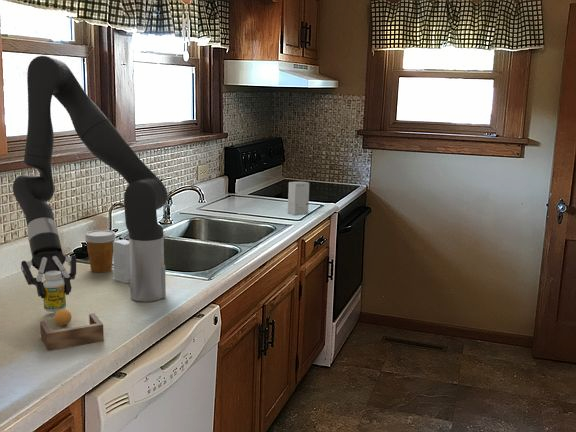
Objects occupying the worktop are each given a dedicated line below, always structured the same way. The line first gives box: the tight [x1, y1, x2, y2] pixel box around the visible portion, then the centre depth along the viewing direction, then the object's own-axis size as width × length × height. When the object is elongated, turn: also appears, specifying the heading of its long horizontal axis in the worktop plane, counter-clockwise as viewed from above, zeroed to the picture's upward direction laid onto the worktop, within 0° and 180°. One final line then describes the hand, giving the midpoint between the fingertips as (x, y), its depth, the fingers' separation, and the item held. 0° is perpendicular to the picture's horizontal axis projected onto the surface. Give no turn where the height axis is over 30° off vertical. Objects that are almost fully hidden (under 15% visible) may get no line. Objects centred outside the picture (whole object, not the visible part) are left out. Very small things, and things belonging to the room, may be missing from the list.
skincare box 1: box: [113, 239, 130, 284], centre depth 191 cm, size 6×4×12 cm
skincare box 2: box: [287, 181, 310, 216], centre depth 296 cm, size 8×6×15 cm
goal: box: [39, 313, 105, 352], centre depth 148 cm, size 12×8×4 cm, turn 121°
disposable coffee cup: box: [83, 229, 117, 273], centre depth 201 cm, size 10×10×12 cm
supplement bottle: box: [42, 271, 67, 313], centre depth 163 cm, size 5×5×10 cm
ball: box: [53, 309, 72, 327], centre depth 156 cm, size 4×4×4 cm
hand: (55, 294), depth 161 cm, fingers closed on supplement bottle, 5 cm apart
